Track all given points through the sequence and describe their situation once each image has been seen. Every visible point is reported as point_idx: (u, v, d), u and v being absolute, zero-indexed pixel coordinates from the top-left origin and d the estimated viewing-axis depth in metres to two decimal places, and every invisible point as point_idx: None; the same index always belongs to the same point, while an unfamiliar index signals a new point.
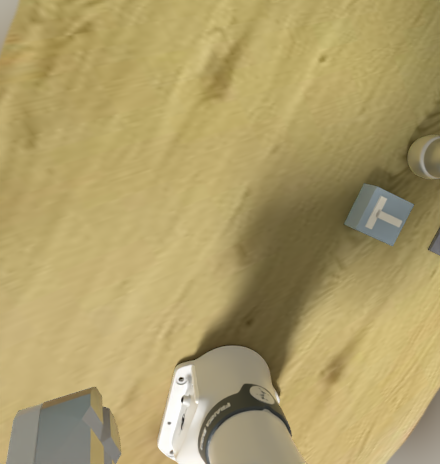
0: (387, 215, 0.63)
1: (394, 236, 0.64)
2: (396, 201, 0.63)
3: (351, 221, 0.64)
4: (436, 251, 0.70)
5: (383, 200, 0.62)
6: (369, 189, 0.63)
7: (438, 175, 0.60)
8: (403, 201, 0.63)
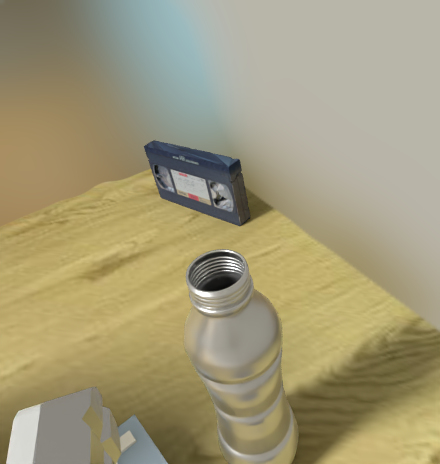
0: None
1: None
2: (151, 456, 0.33)
3: None
4: None
5: (128, 440, 0.34)
6: None
7: (218, 422, 0.31)
8: (161, 462, 0.32)
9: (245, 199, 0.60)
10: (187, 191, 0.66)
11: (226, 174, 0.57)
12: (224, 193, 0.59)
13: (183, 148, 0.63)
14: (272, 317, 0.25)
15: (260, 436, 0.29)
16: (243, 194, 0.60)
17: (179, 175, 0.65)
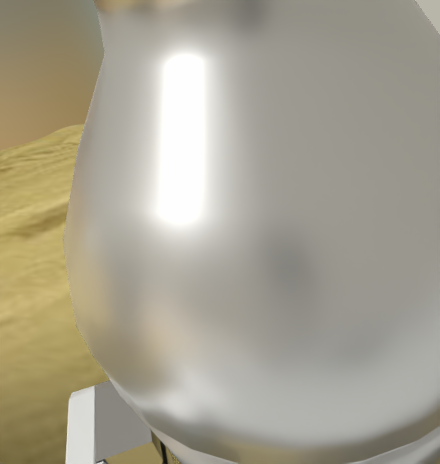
0: None
1: None
2: None
3: None
4: None
5: None
6: None
7: None
8: None
9: None
10: None
11: None
12: None
13: None
14: None
15: None
16: None
17: None
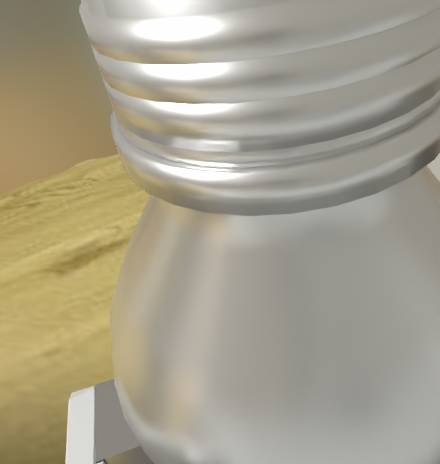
0: None
1: None
2: None
3: None
4: None
5: None
6: None
7: None
8: None
9: None
10: None
11: None
12: None
13: None
14: None
15: None
16: None
17: None
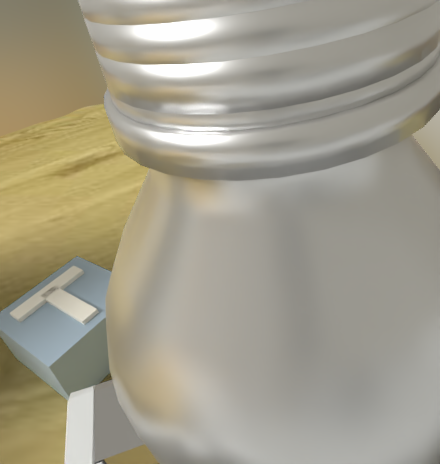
0: (67, 296, 0.27)
1: (65, 343, 0.24)
2: (104, 278, 0.28)
3: None
4: None
5: (74, 272, 0.29)
6: None
7: None
8: None
9: None
10: None
11: None
12: None
13: None
14: None
15: None
16: None
17: None
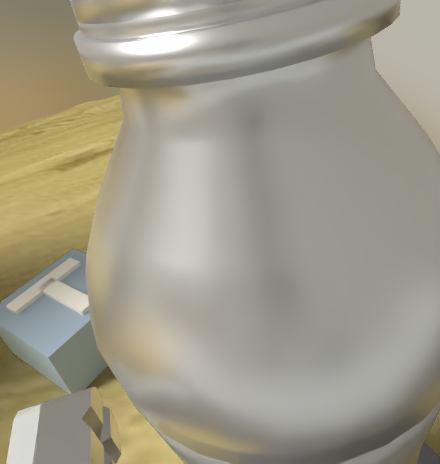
0: (65, 288, 0.26)
1: (64, 334, 0.23)
2: None
3: None
4: None
5: (71, 264, 0.28)
6: None
7: None
8: None
9: None
10: None
11: None
12: None
13: None
14: None
15: None
16: None
17: None
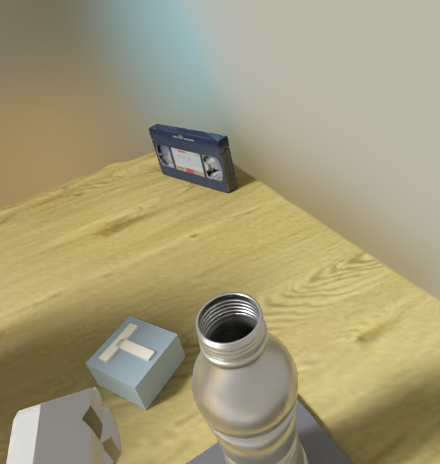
0: (133, 344, 0.44)
1: (140, 373, 0.41)
2: (152, 330, 0.45)
3: None
4: None
5: (132, 328, 0.46)
6: None
7: None
8: (162, 330, 0.45)
9: (232, 170, 0.73)
10: (184, 165, 0.78)
11: (216, 148, 0.69)
12: (215, 164, 0.72)
13: (181, 129, 0.76)
14: (287, 364, 0.24)
15: None
16: (231, 166, 0.72)
17: (178, 152, 0.77)
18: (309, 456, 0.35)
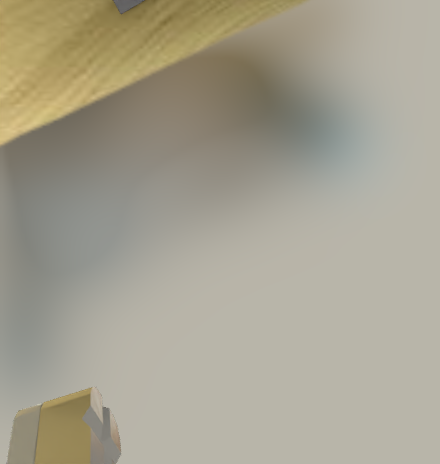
0: None
1: None
2: None
3: None
4: None
5: None
6: None
7: None
8: None
9: None
10: None
11: None
12: None
13: None
14: None
15: None
16: None
17: None
18: None
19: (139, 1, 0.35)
